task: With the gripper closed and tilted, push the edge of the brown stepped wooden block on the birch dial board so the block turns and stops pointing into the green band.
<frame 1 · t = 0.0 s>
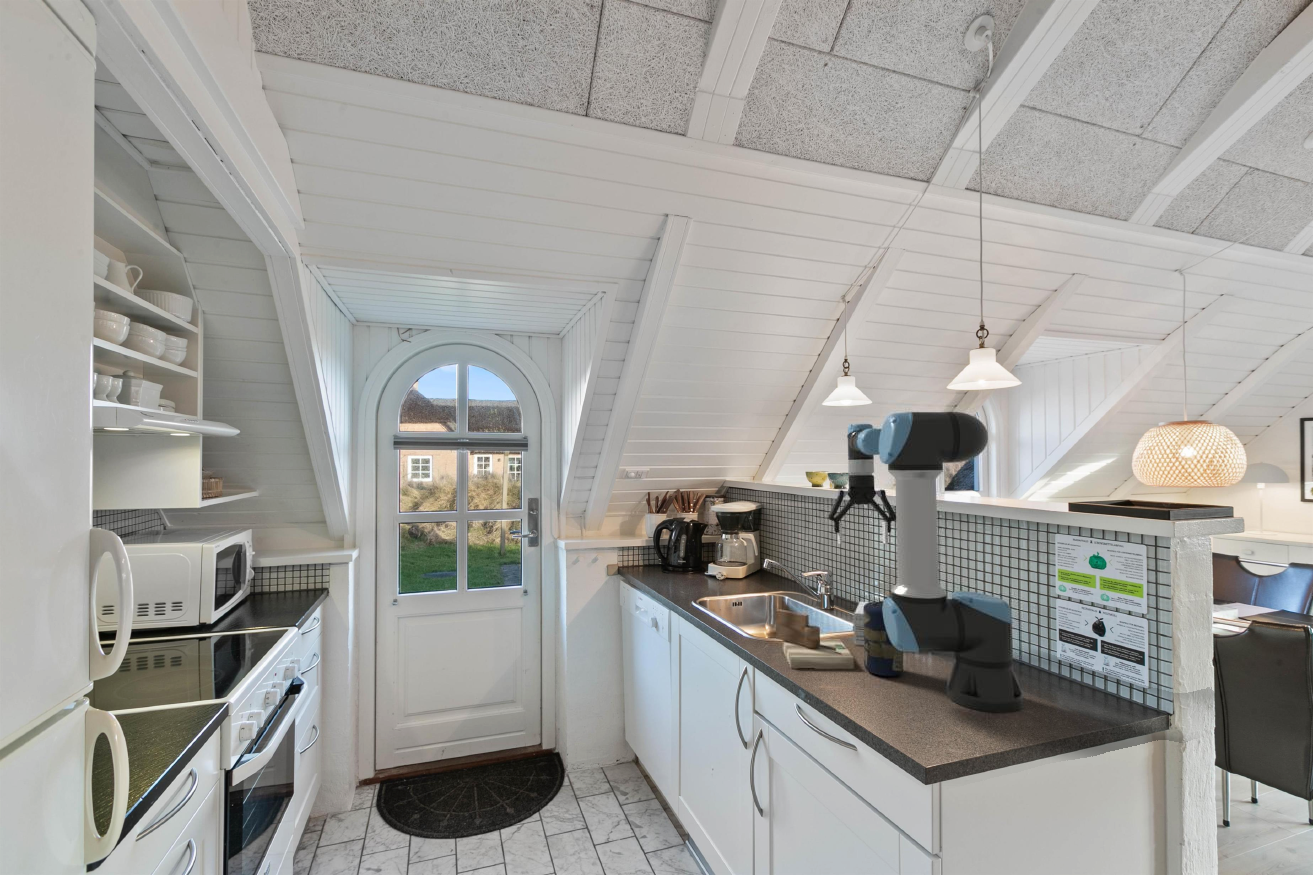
hand: (862, 543, 189), 28 cm above the counter, tool pointing down, fingers open, 13 cm apart
brown stepped wooden block: (805, 629, 169), point 7 cm above the counter, hinge at 0.0°
canister: (884, 672, 157), on the counter
dial board: (816, 658, 168), on the counter
supplement box: (879, 640, 185), on the counter
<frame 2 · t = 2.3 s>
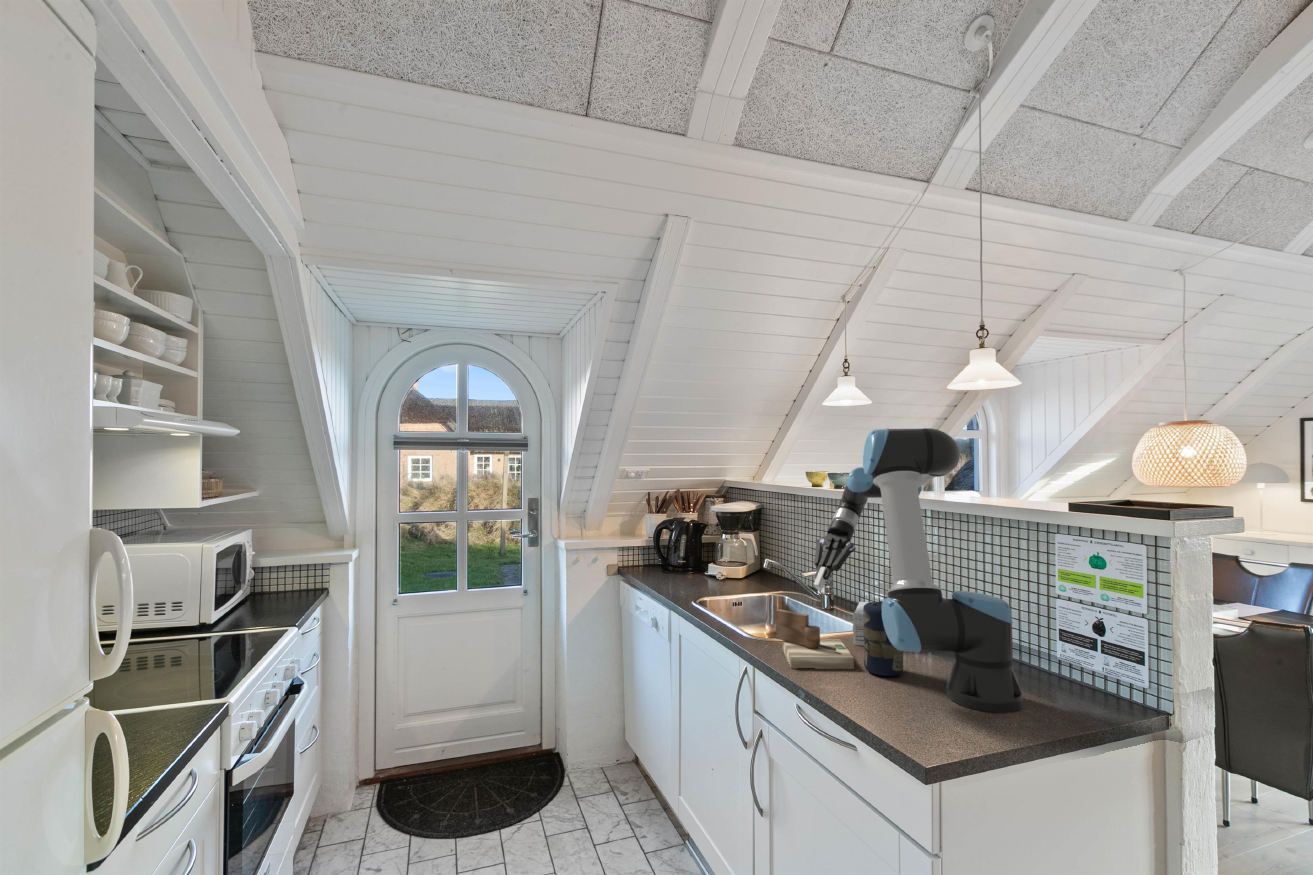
hand: (817, 587, 185), 16 cm above the counter, tool tilted 45°, fingers closed
nothing on the counter moved.
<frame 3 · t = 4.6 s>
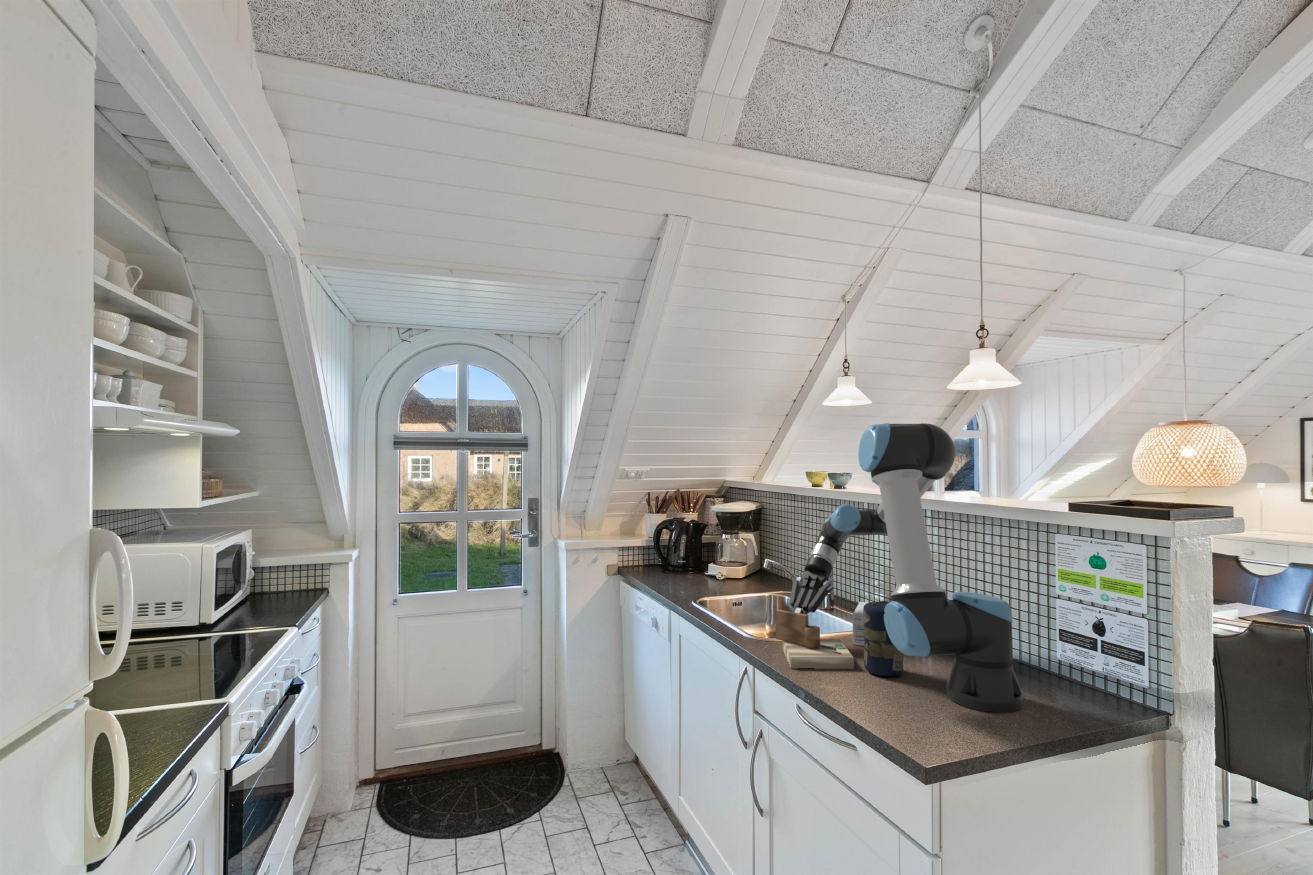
hand: (792, 630, 174), 6 cm above the counter, tool tilted 45°, fingers closed
brown stepped wooden block: (805, 629, 169), point 7 cm above the counter, hinge at 1.9°, touching gripper
everything else where it was.
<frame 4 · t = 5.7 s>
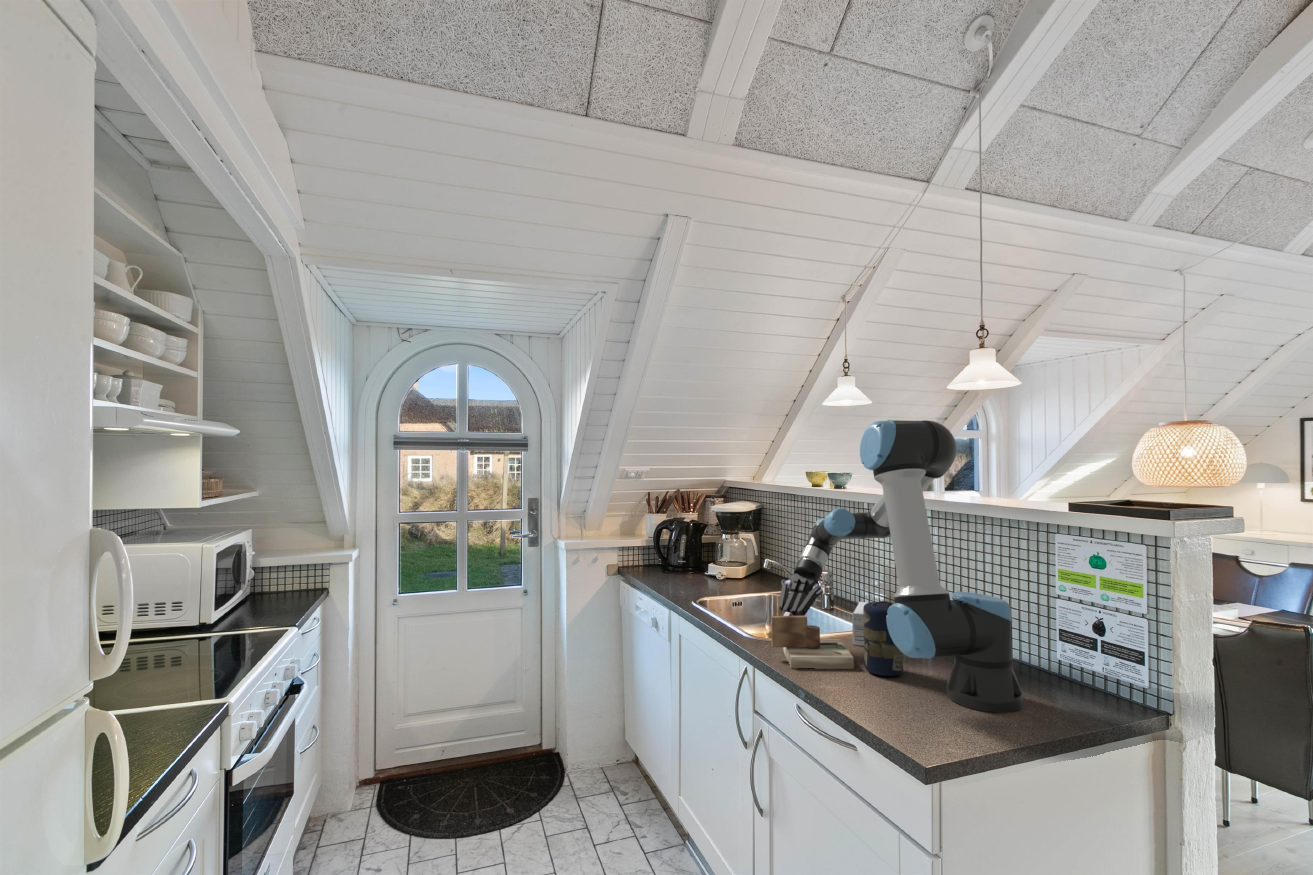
hand: (780, 634, 170), 6 cm above the counter, tool tilted 45°, fingers closed
brown stepped wooden block: (804, 631, 168), point 7 cm above the counter, hinge at 44.2°, touching gripper
everything else where it was.
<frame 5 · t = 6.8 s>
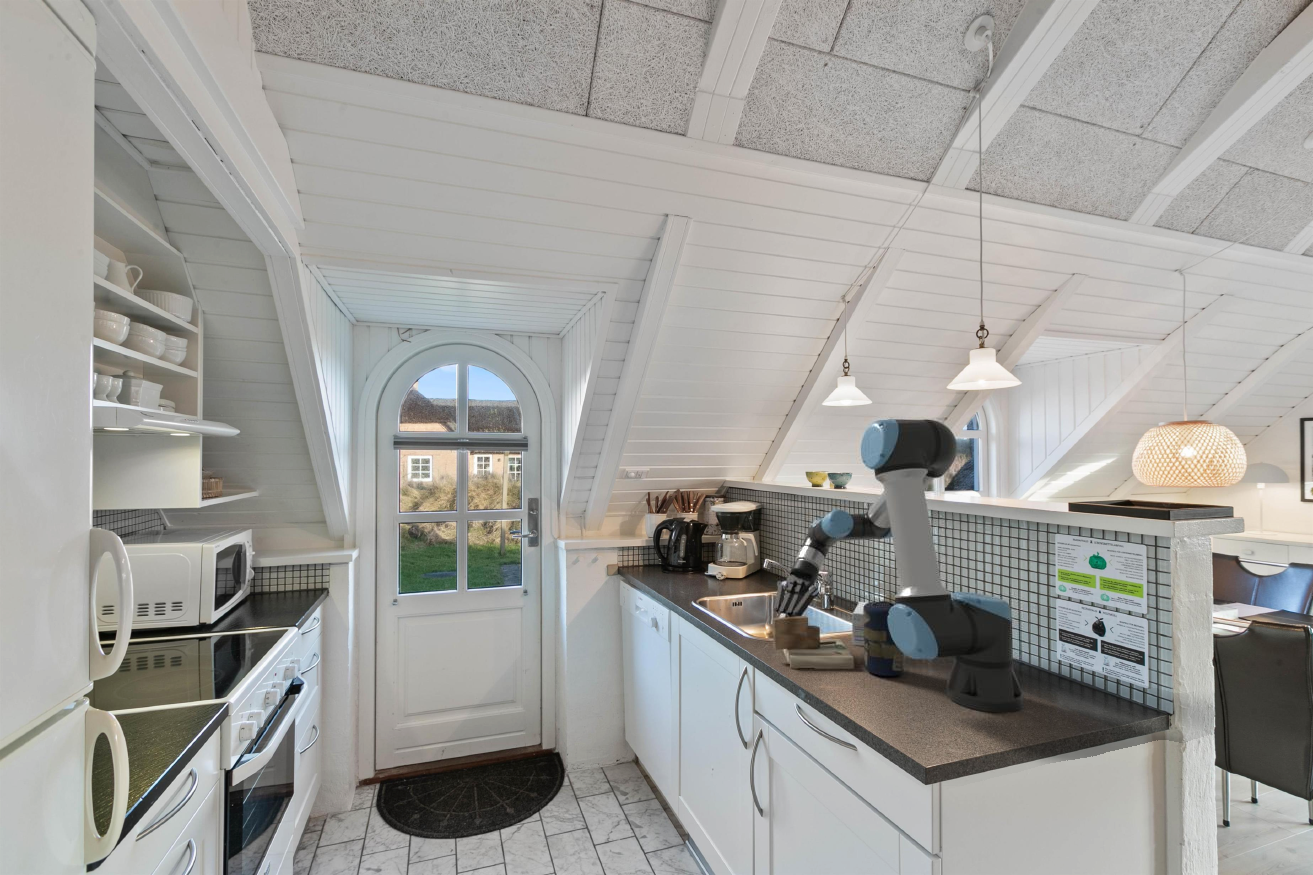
hand: (776, 636, 168), 6 cm above the counter, tool tilted 45°, fingers closed
brown stepped wooden block: (805, 631, 168), point 7 cm above the counter, hinge at 55.3°, touching gripper
everything else where it was.
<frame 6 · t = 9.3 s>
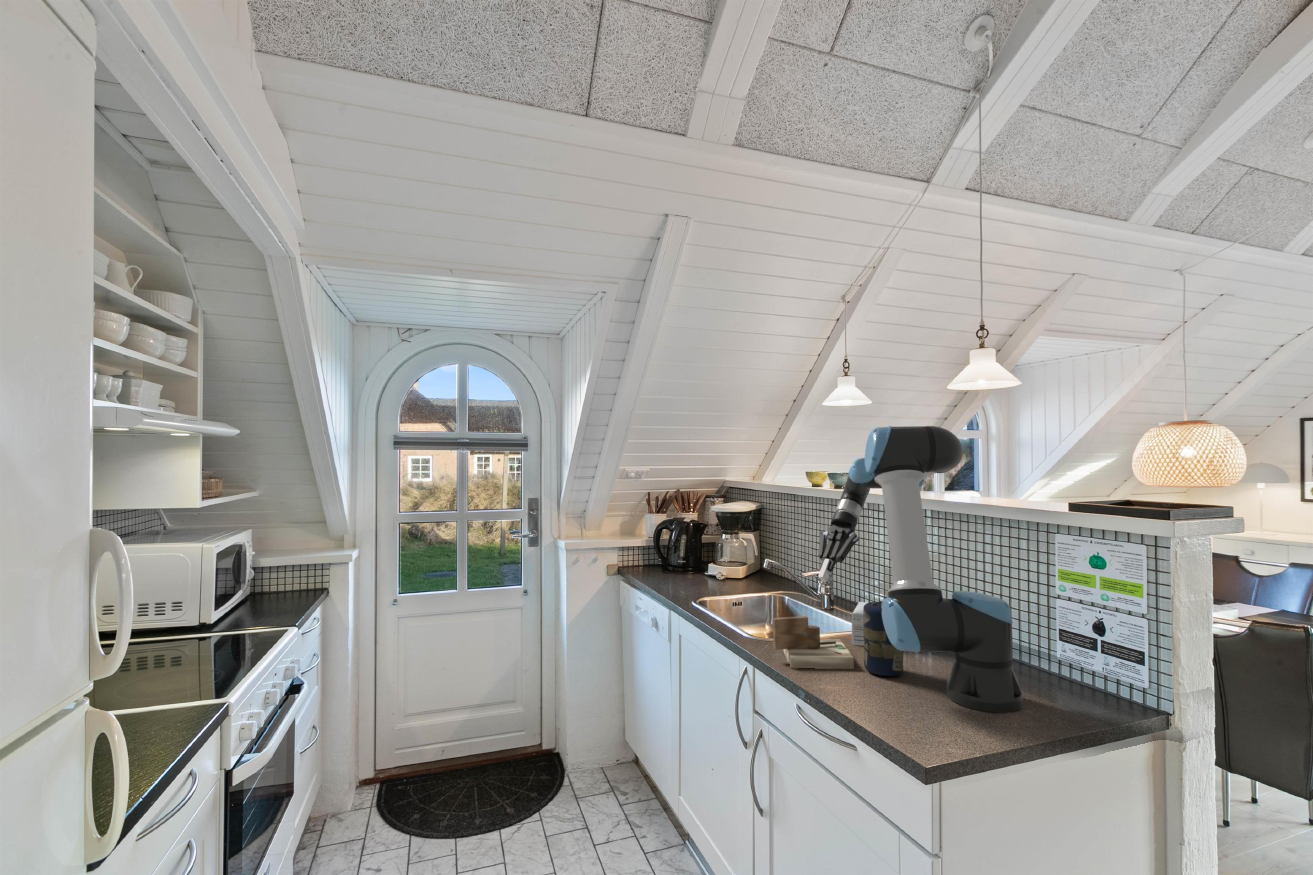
hand: (822, 579, 185), 18 cm above the counter, tool tilted 45°, fingers closed
brown stepped wooden block: (805, 631, 168), point 7 cm above the counter, hinge at 55.4°
everything else where it was.
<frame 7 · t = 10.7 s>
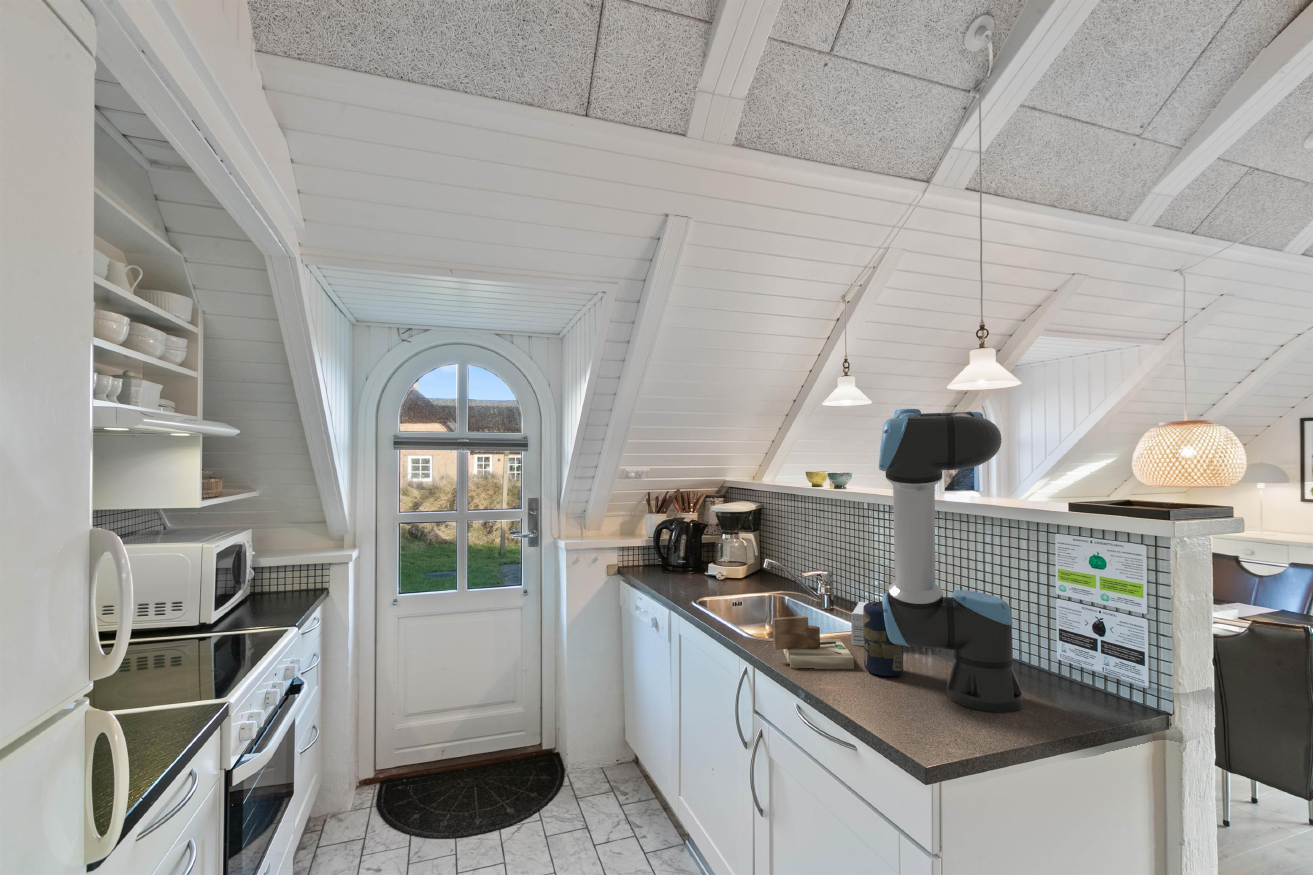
hand: (910, 543, 180), 29 cm above the counter, tool pointing down, fingers closed
nothing on the counter moved.
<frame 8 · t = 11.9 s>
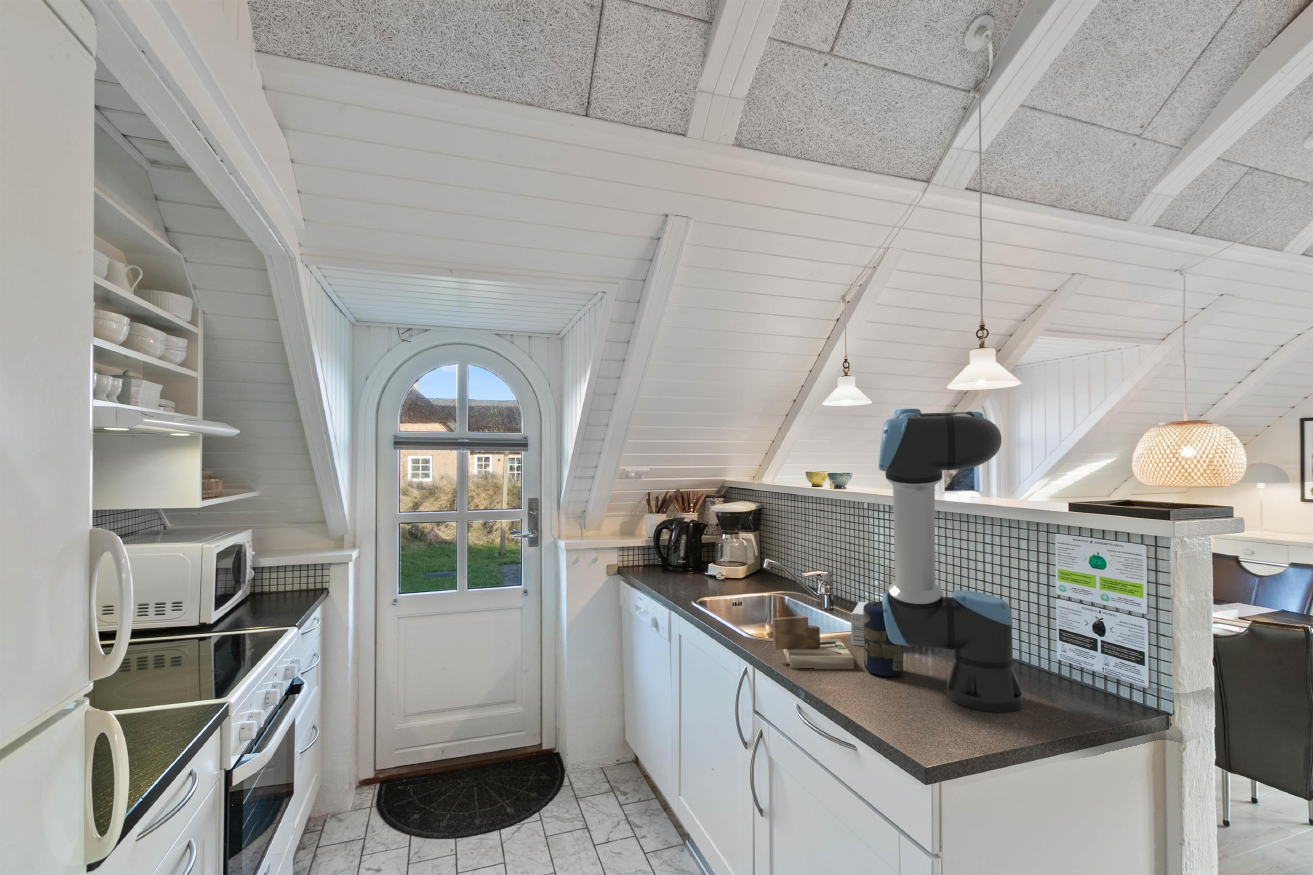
hand: (910, 542, 180), 29 cm above the counter, tool pointing down, fingers closed
nothing on the counter moved.
at the end: brown stepped wooden block at +55° (first picture: +0°); canister moved 0.2 cm from its start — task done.
